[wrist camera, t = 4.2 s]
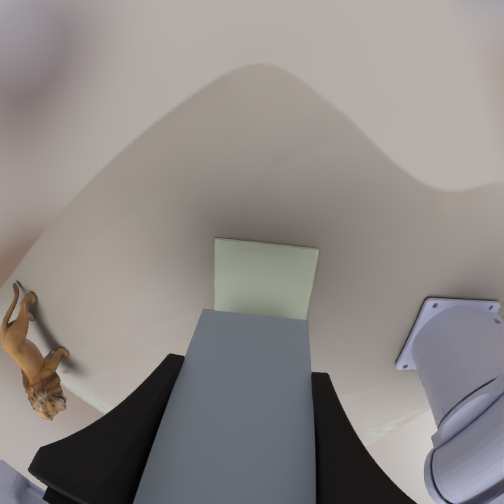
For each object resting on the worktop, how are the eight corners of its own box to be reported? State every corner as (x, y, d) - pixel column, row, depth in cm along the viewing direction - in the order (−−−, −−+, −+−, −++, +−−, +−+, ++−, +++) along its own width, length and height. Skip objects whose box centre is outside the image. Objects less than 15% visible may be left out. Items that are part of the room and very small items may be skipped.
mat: (318, 248, 19) (319, 250, 19) (272, 444, 32) (272, 446, 31) (215, 237, 20) (214, 239, 20) (218, 438, 32) (218, 440, 32)
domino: (203, 308, 14) (130, 510, 5) (307, 319, 14) (315, 536, 5) (204, 333, 15) (144, 519, 6) (301, 343, 14) (302, 542, 5)
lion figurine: (94, 375, 30) (62, 429, 22) (70, 375, 31) (40, 422, 23) (26, 275, 24) (-27, 322, 16) (8, 284, 26) (-38, 326, 17)
